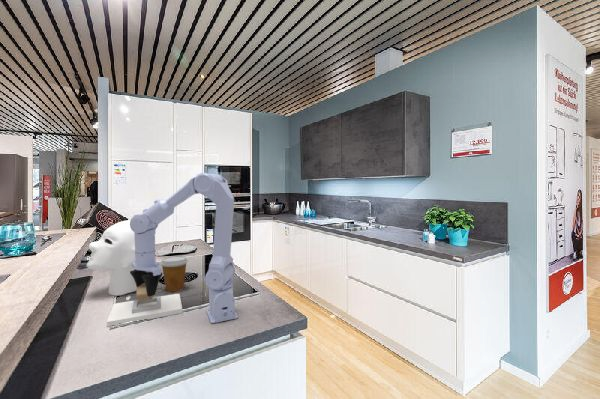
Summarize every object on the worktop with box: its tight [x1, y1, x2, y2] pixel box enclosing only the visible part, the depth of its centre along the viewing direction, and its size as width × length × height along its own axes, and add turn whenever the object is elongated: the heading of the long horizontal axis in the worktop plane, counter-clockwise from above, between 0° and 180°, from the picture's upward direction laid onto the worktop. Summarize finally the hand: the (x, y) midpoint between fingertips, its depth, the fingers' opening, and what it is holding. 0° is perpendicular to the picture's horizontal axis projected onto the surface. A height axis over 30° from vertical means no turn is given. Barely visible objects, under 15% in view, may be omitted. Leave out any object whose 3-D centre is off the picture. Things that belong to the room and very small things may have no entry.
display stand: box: [106, 293, 183, 328], centre depth 93 cm, size 14×20×3 cm
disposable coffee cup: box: [160, 255, 188, 293], centre depth 112 cm, size 10×10×12 cm
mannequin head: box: [86, 219, 137, 297], centre depth 110 cm, size 18×23×28 cm
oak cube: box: [136, 283, 157, 300], centre depth 93 cm, size 4×4×4 cm
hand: (146, 293), depth 93 cm, fingers closed on oak cube, 6 cm apart
